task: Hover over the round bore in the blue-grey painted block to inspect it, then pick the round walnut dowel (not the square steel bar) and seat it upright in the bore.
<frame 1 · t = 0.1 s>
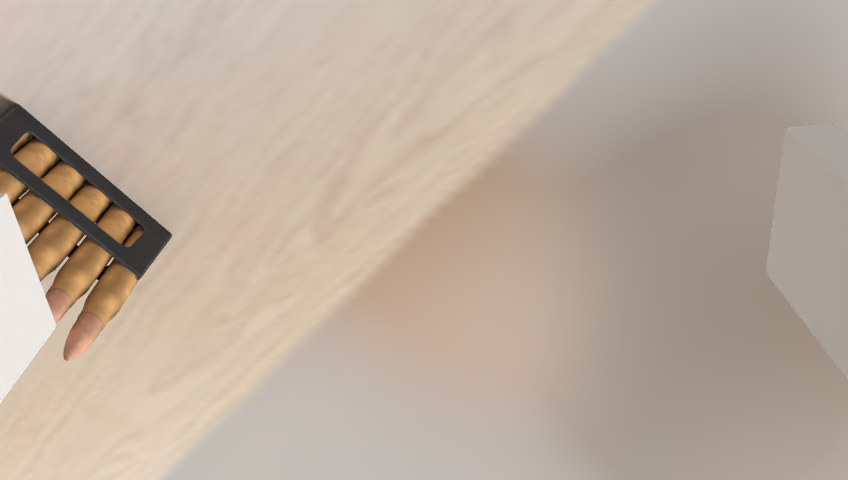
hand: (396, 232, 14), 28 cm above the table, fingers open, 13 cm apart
ammunition clip: (89, 180, 44), on the table
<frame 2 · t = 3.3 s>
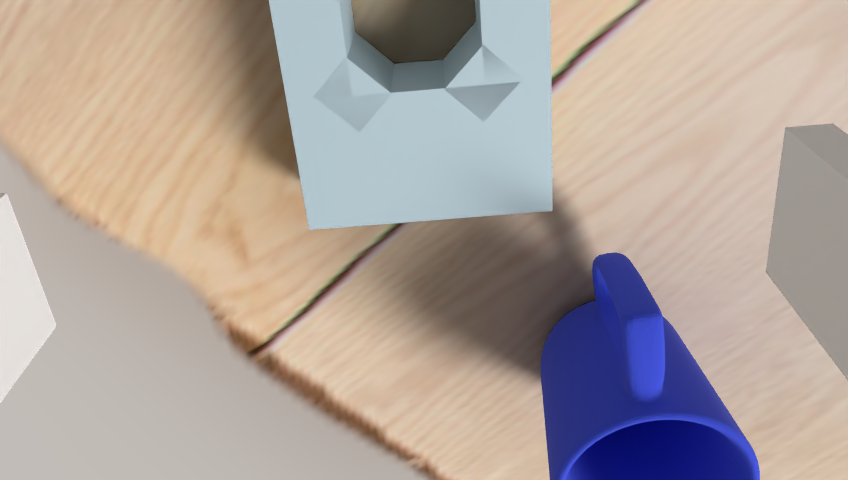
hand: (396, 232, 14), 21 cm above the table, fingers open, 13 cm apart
mug: (602, 312, 39), on the table
bore block: (413, 1, 32), on the table
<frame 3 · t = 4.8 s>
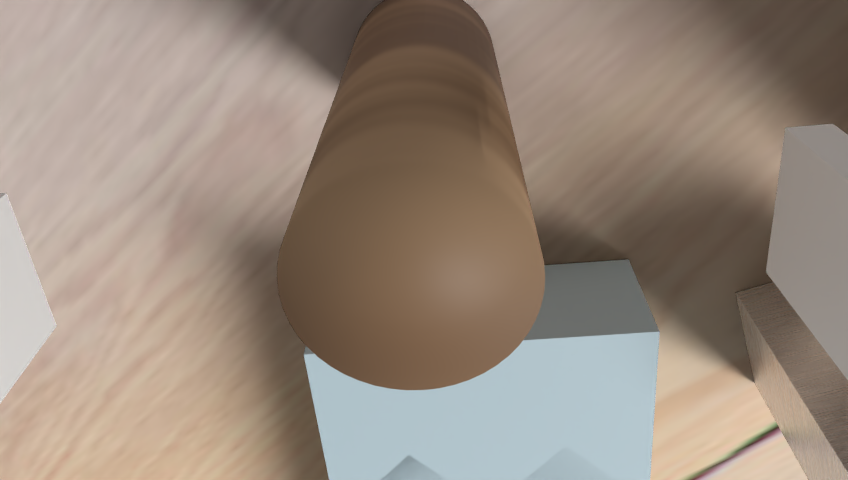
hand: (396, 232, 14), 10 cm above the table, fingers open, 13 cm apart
bore block: (486, 453, 29), on the table
square steel bar: (805, 323, 26), on the table
walnut dowel: (423, 61, 22), on the table
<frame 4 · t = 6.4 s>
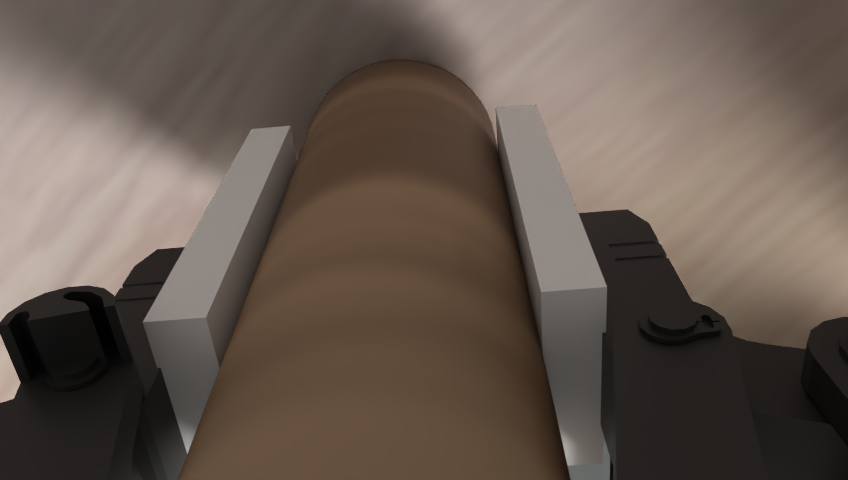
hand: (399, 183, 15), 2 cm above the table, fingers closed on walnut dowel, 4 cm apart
walnut dowel: (402, 152, 17), on the table, touching gripper
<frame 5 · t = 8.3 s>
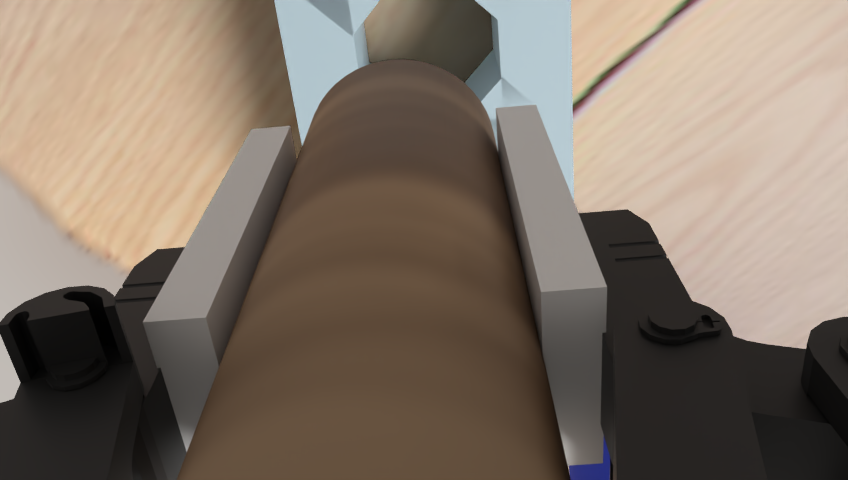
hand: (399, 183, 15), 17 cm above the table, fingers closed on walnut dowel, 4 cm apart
mug: (624, 339, 38), on the table
bore block: (428, 29, 31), on the table
walnut dowel: (401, 151, 17), point 16 cm above the table, touching gripper
when the fingers open (5 cm above the table, at t = 10.4 s): walnut dowel drops 1 cm, on the table.
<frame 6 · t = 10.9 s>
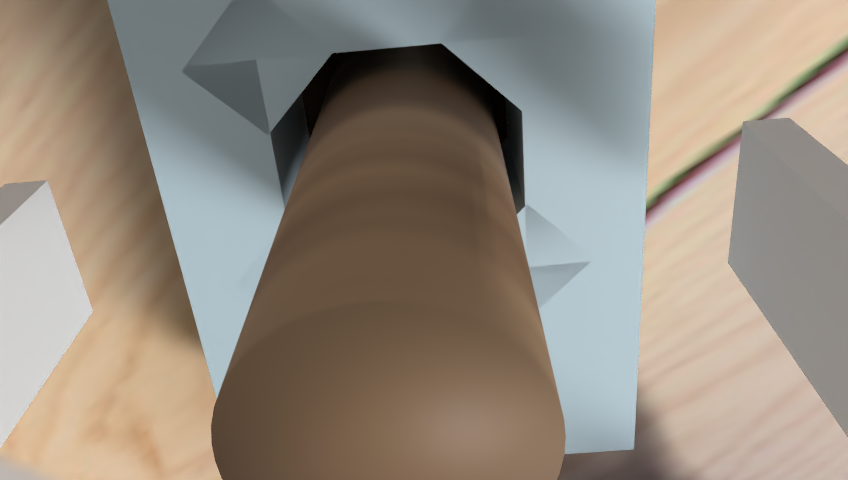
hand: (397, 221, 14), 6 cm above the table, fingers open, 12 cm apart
bore block: (405, 107, 19), on the table
walnut dowel: (408, 106, 19), on the table
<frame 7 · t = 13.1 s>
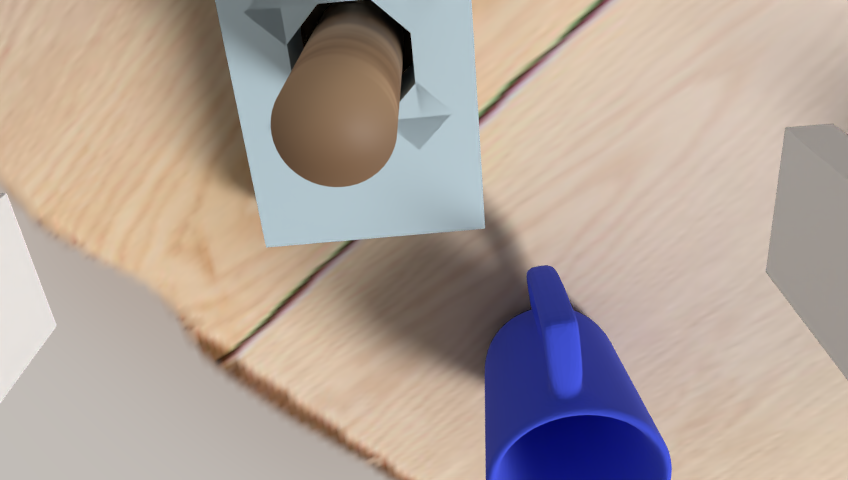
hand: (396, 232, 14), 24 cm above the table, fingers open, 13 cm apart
mug: (541, 319, 43), on the table
bore block: (358, 41, 35), on the table
walnut dowel: (359, 40, 35), on the table
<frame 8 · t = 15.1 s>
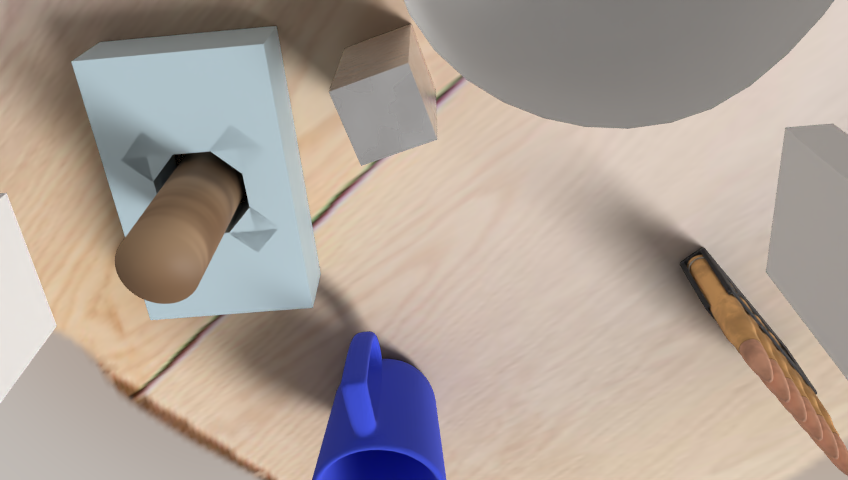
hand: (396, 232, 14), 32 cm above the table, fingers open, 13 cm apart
mug: (381, 367, 55), on the table
bore block: (218, 166, 47), on the table
square steel bar: (390, 69, 44), on the table
walnut dowel: (219, 166, 47), on the table
ammunition clip: (733, 304, 52), on the table
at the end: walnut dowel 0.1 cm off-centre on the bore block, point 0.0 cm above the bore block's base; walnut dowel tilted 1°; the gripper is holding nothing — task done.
